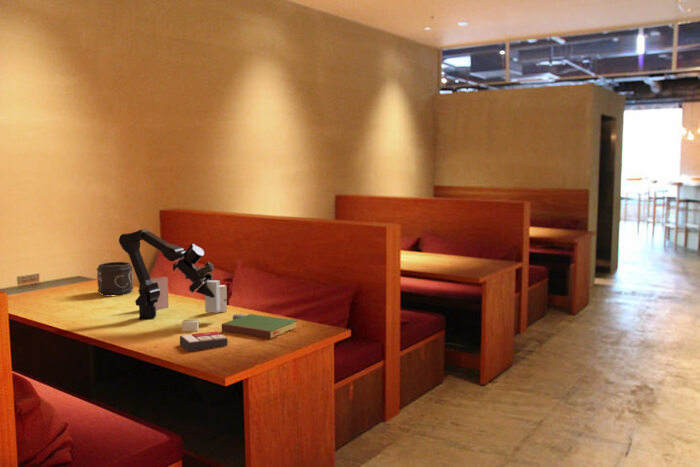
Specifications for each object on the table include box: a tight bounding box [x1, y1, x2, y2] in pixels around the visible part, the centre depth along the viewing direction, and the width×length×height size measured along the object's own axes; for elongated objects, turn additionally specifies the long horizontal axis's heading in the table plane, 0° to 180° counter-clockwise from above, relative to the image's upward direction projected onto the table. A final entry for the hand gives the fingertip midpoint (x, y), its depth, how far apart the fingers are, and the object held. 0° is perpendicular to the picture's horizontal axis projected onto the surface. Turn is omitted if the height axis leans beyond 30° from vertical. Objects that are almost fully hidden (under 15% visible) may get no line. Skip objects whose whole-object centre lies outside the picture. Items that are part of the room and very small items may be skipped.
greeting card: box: [150, 276, 170, 311], centre depth 286 cm, size 11×7×15 cm, turn 108°
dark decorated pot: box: [96, 261, 135, 296], centre depth 325 cm, size 18×18×16 cm
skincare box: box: [213, 284, 228, 314], centre depth 282 cm, size 6×4×12 cm
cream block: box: [181, 318, 200, 332], centre depth 251 cm, size 6×4×4 cm, turn 95°
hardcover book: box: [221, 313, 297, 340], centre depth 250 cm, size 25×19×4 cm
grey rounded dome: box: [232, 313, 246, 320], centre depth 263 cm, size 5×5×3 cm
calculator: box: [179, 331, 228, 353], centre depth 229 cm, size 11×4×15 cm
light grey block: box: [204, 279, 221, 313], centre depth 263 cm, size 5×5×13 cm
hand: (215, 295), depth 262 cm, fingers closed on light grey block, 5 cm apart
